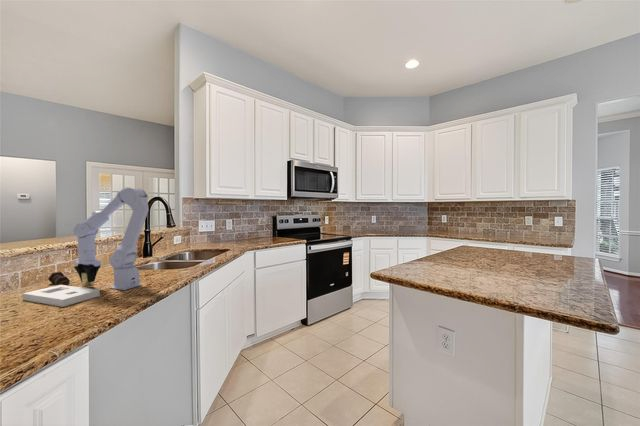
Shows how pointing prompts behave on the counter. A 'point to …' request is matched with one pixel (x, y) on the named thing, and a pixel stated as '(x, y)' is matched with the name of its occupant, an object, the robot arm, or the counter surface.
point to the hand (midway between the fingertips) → (87, 281)
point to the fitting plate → (61, 295)
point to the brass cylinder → (86, 281)
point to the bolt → (58, 279)
